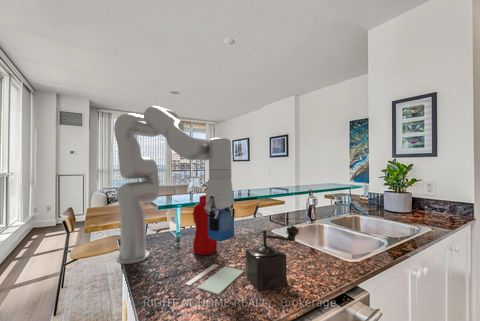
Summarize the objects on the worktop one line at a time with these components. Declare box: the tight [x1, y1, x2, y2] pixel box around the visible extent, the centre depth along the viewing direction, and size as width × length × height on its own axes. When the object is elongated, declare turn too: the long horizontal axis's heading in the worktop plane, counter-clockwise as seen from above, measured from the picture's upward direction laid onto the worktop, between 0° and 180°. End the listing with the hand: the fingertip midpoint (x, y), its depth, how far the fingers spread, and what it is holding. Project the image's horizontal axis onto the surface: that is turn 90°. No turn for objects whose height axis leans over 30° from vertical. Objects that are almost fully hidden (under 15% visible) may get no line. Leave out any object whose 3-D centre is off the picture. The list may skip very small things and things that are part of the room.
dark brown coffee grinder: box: [245, 225, 300, 292], centre depth 76 cm, size 16×11×18 cm
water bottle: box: [192, 194, 218, 256], centre depth 101 cm, size 9×11×25 cm
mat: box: [196, 266, 245, 296], centre depth 76 cm, size 8×16×1 cm, turn 151°
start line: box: [184, 263, 219, 287], centre depth 80 cm, size 2×16×1 cm, turn 151°
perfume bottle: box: [208, 209, 235, 242], centre depth 76 cm, size 6×6×12 cm
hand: (221, 227), depth 76 cm, fingers closed on perfume bottle, 7 cm apart
